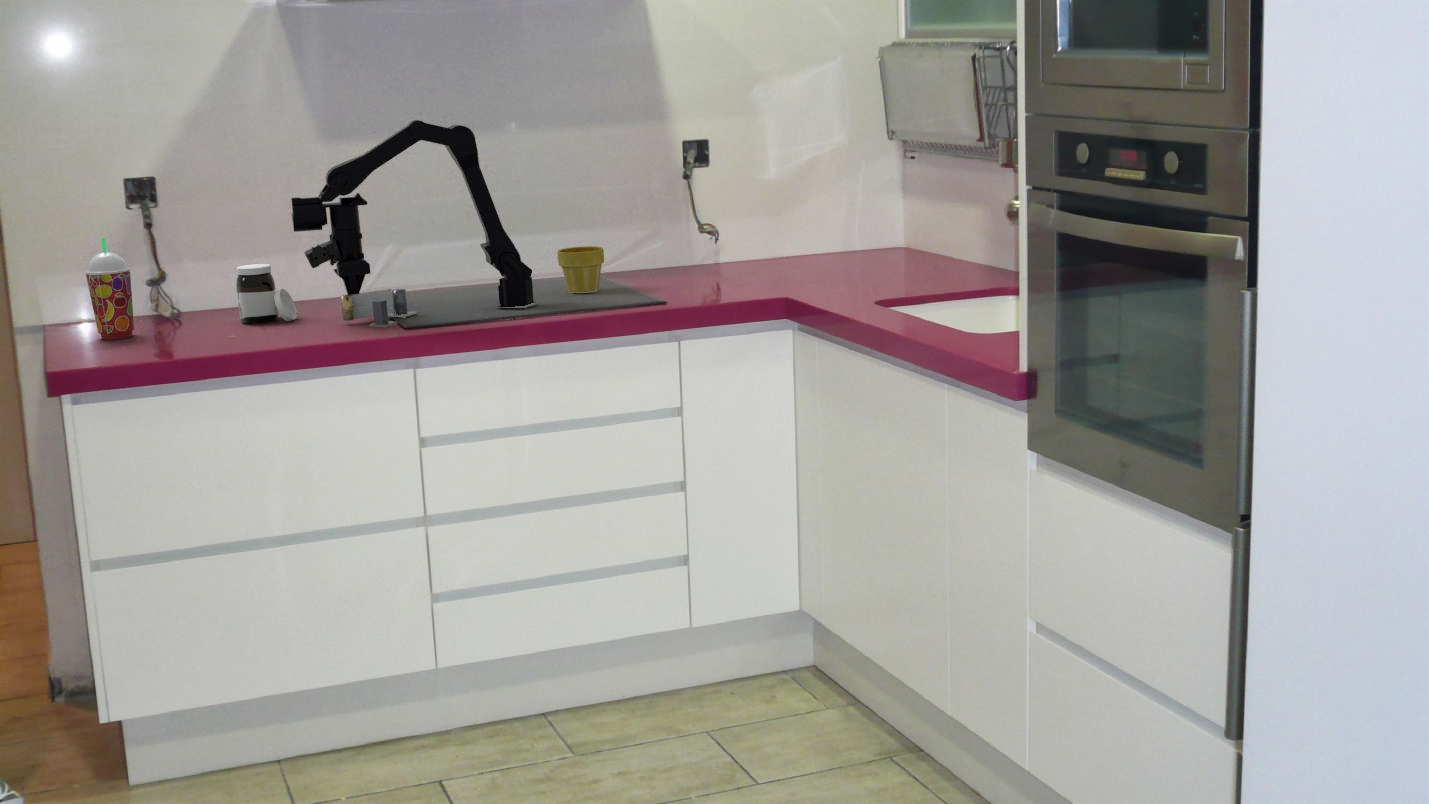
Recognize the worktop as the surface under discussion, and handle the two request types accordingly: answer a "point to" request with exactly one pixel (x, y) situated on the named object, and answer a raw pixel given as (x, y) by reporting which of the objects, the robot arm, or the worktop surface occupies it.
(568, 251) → the plant pot
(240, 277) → the spread jar
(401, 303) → the hinge post
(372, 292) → the gate
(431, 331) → the worktop surface
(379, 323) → the post
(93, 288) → the smoothie
